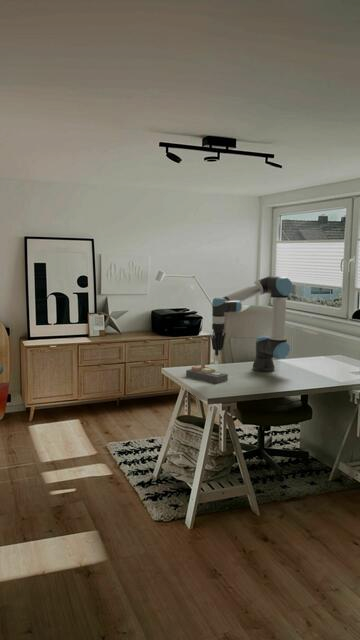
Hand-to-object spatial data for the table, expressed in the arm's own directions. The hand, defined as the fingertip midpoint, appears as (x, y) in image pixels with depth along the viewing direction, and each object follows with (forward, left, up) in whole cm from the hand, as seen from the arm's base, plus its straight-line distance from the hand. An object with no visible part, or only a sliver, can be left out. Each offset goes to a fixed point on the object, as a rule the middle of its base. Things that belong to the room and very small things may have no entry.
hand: (217, 360), depth 328 cm
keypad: (0, -8, -13) cm, 15 cm away
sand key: (0, -8, -10) cm, 13 cm away
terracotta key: (0, -16, -10) cm, 19 cm away
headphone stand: (-16, -22, -13) cm, 30 cm away
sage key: (0, 0, -11) cm, 11 cm away
